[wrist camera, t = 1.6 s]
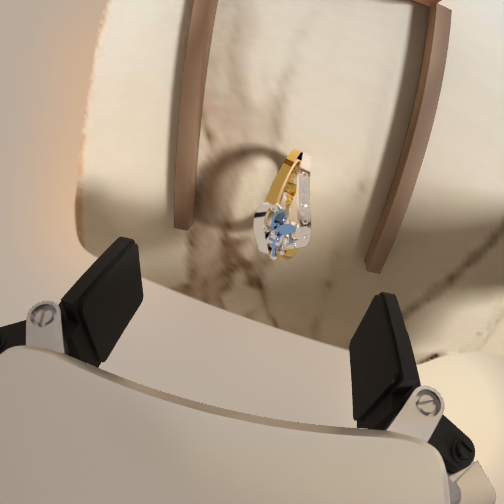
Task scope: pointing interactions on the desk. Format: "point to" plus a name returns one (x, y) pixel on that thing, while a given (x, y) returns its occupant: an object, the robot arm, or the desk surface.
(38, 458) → the robot arm
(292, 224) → the ring
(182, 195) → the channel
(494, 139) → the desk surface
